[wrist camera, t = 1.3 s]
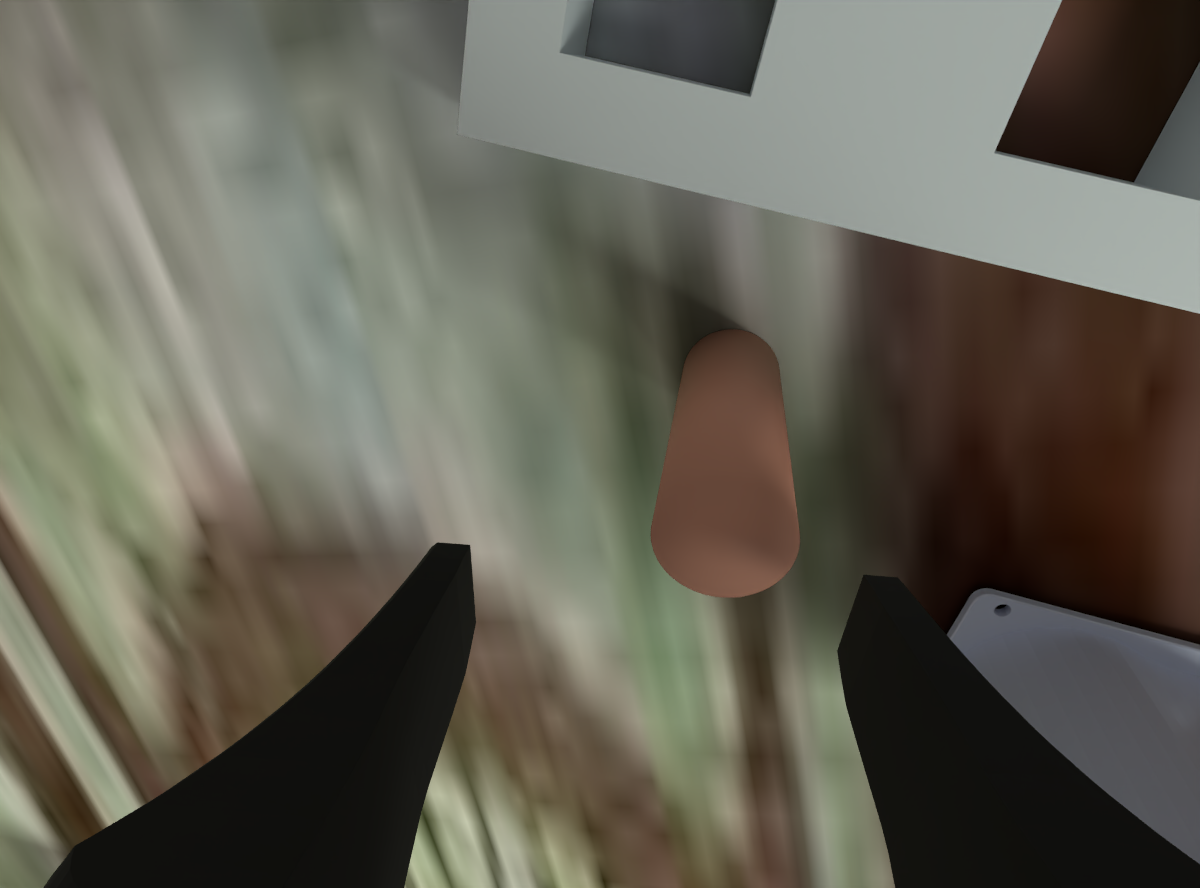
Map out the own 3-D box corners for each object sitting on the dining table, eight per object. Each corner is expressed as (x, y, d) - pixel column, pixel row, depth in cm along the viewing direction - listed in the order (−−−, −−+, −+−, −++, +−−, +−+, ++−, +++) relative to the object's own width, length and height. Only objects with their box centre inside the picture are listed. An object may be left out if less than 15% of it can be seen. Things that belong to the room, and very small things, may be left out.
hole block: (1429, -130, 14) (1580, -176, 12) (1171, 288, 19) (1240, 323, 16) (543, -307, 16) (503, -384, 13) (493, 126, 20) (456, 134, 17)
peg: (792, 342, 21) (821, 498, 14) (762, 427, 23) (772, 613, 15) (696, 318, 22) (670, 458, 14) (672, 404, 23) (636, 575, 15)
